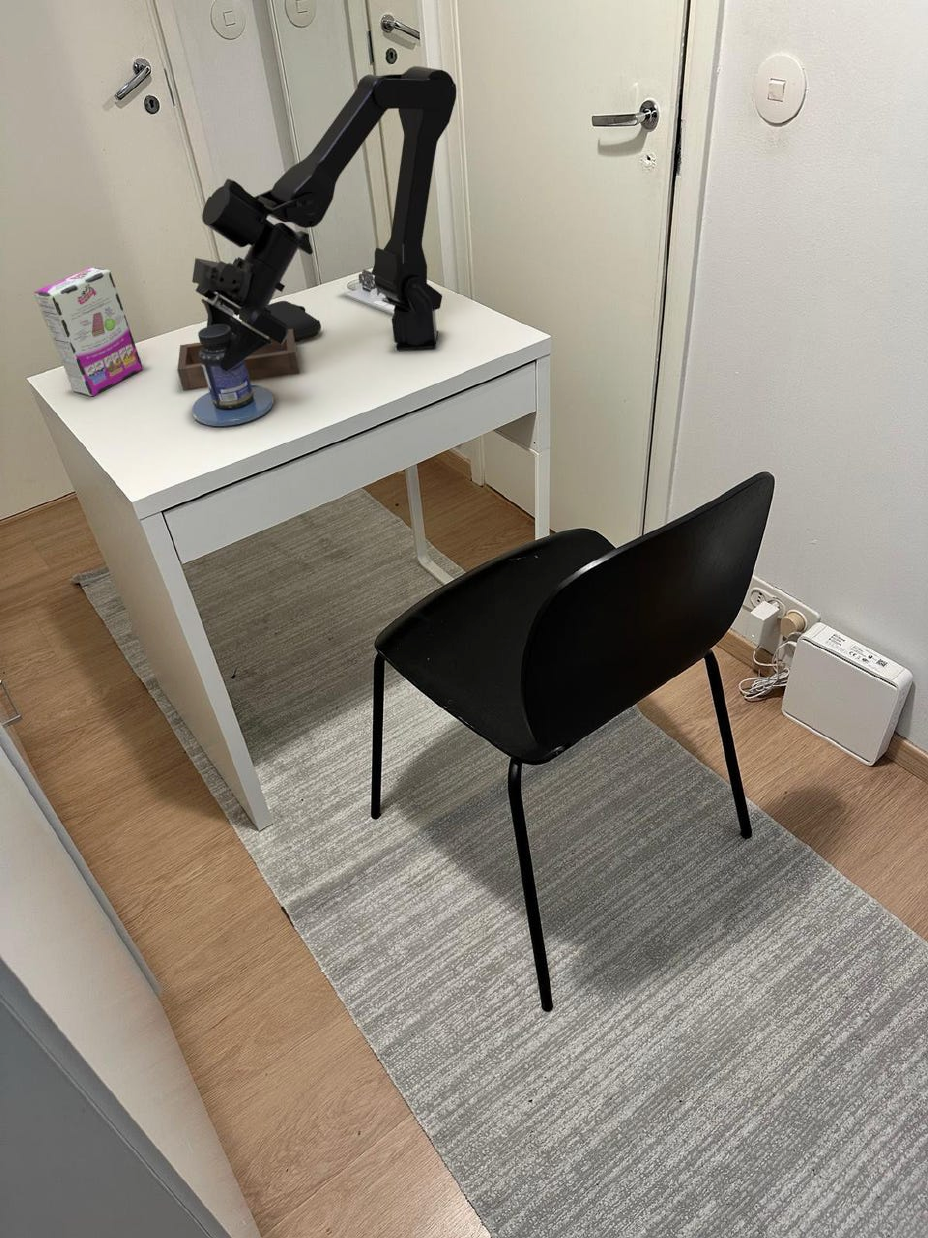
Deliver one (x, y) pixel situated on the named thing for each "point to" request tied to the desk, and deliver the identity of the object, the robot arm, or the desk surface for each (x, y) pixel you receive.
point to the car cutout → (370, 293)
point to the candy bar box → (89, 330)
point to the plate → (225, 417)
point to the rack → (258, 364)
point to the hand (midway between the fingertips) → (213, 362)
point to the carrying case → (295, 319)
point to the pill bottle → (223, 385)
